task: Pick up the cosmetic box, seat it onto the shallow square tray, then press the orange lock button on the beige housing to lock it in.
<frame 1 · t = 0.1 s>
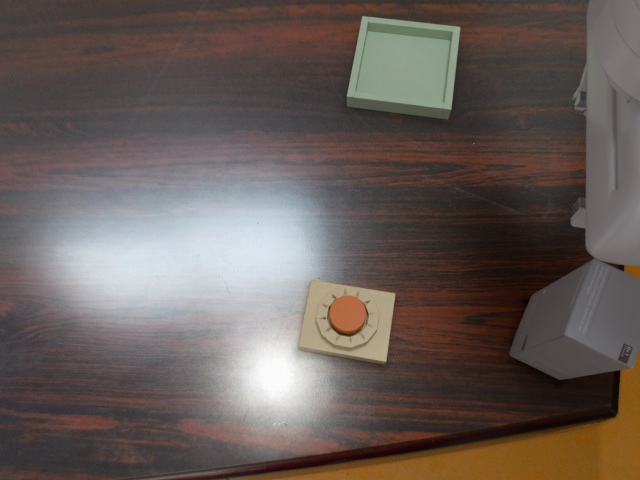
hand: (581, 161, 40), 27 cm above the table, tool pointing down, fingers open, 8 cm apart
lock button: (347, 314, 59), point 4 cm above the table, slide at 0.1 cm
shallow square tray: (403, 72, 76), on the table
lock housing: (347, 323, 63), on the table
cosmetic box: (546, 340, 62), on the table
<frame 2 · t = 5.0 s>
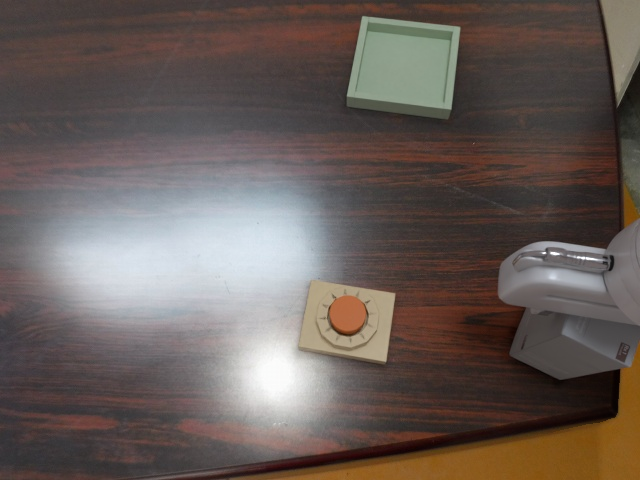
hand: (589, 315, 50), 12 cm above the table, tool pointing down, fingers open, 8 cm apart
cosmetic box: (547, 340, 62), on the table, touching gripper
everything else where it was.
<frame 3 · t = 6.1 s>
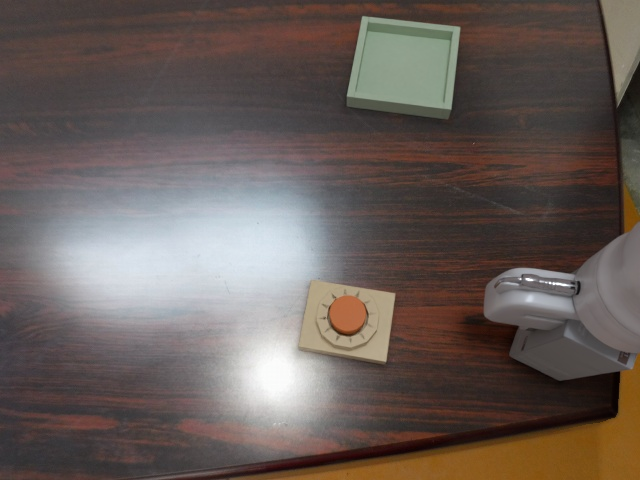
hand: (568, 330, 56), 6 cm above the table, tool pointing down, fingers closed on cosmetic box, 7 cm apart
cosmetic box: (546, 341, 62), on the table, touching gripper
everything else where it was.
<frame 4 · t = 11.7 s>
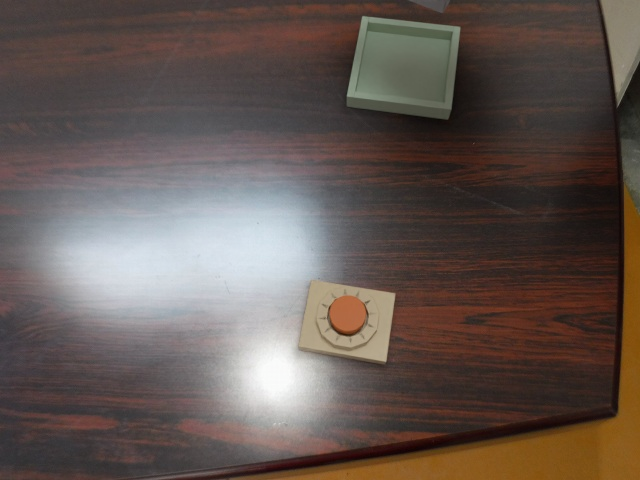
when the fingers open (7 cm above the table, at t = 17.4 s): cosmetic box stays where it is, resting on shallow square tray.
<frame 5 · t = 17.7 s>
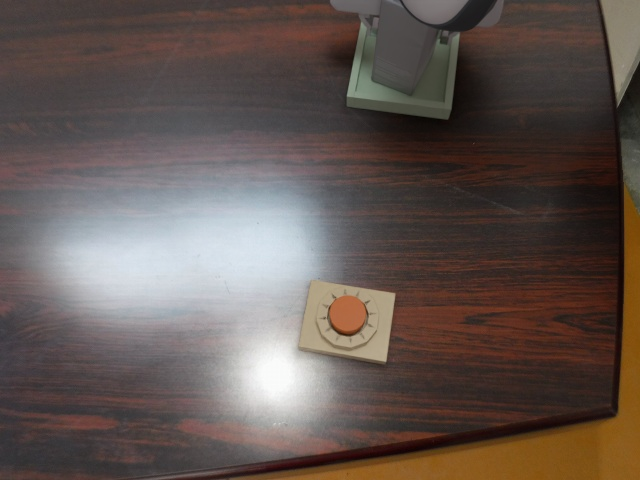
hand: (408, 36, 69), 7 cm above the table, tool pointing down, fingers open, 8 cm apart
cosmetic box: (403, 70, 76), resting on shallow square tray
everything else where it was.
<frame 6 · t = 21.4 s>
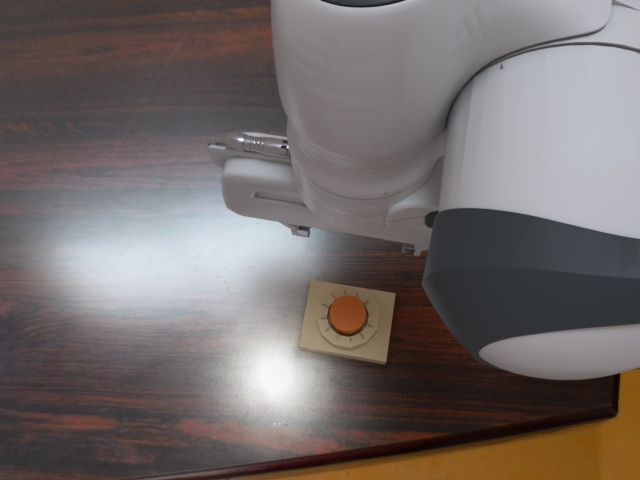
hand: (356, 237, 46), 20 cm above the table, tool pointing down, fingers open, 8 cm apart
nothing on the table moved.
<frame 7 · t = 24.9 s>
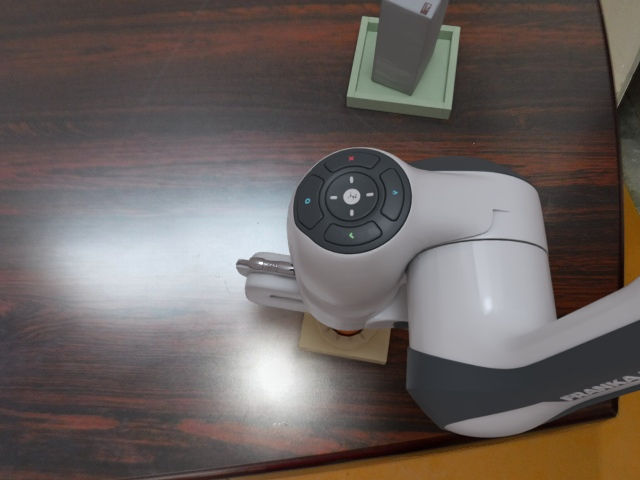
hand: (346, 313, 59), 5 cm above the table, tool pointing down, fingers closed, pressing on lock button
lock button: (347, 316, 60), point 4 cm above the table, slide at -0.6 cm, touching gripper
everything else where it was.
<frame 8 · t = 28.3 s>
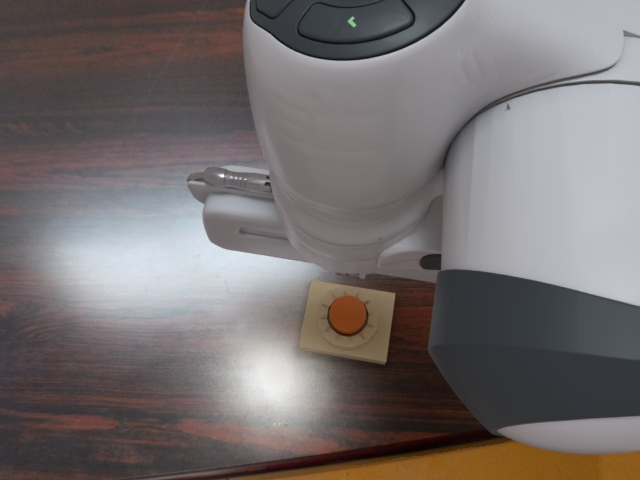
hand: (349, 267, 44), 21 cm above the table, tool pointing down, fingers closed
lock button: (347, 314, 59), point 4 cm above the table, slide at 0.1 cm
everything else where it was.
at the end: cosmetic box inside the target area in the shallow square tray (0.1 cm from its centre), point 0.4 cm above the shallow square tray's base; cosmetic box tilted 0°; lock button pushed in 1.0 cm at the most during the clip, back to where it started at the end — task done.
